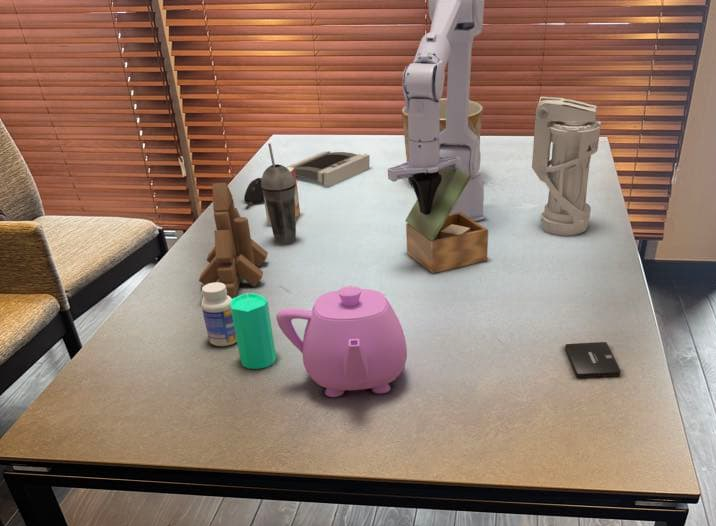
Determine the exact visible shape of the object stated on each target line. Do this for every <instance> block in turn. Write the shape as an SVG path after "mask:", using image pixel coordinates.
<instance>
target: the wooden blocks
mask: <svg viewBox="0 0 716 526" xmlns="http://www.w3.org/2000/svg"><path fill="white" fill-rule="evenodd" d="M212 206H213V207H212V209H213V217H214V222H215V228H216V230H214V247H213V248H212V249H211V251H209V254H208V255H207V257H206V262H207V263H209V264H207V266H206V267H205V269H204V270H203V271H202V272H201V274H200V275H199V278H198V282H200V283H202V284H203V286H205V285H206V284H209V283H214V282H218V281H219V283H223V284H225V286H226V290H227V295H228V296H230V297H231V298H232V299H233V298H235V297H237V295H238V291H239V288H240V284H241V280H242V279H243V280H244V281H245V282H247V283H248V284H249V285H251V286H252V287H256V286H257V285H258V284H259V283H260V281H261V280H262V279H263V275H264V271H263V270H261V268H260V267H261V266H262V264H263V263H264V262H265V261H266V259H267V258H268V251H267V250H266V249H264V247H262V246H261V245H260V244H258V243H257V242H256V241H254V240H253V239H252V237H251V232H250V231H251V229H250V225H249V219H248V218H247V217H246V216H241V215H240V212H239V211H238V209H237V207H235V202H234V199H233V194H232V192H231V190H230V188H229V185H228V183H227V182H218V183H217V182H214V183H212ZM203 299H204V297H202V300H201V302H202V301H203Z"/></svg>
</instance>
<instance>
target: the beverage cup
mask: <svg viewBox="0 0 716 526" xmlns="http://www.w3.org/2000/svg"><path fill="white" fill-rule="evenodd" d="M267 145H268V151H269V155H270V160H271V165H269V166H268V167H266V168H265V170H264V171H263V173H262V176H261V177H262V180H261V189H262V192H263V195H264V197H265V200H266V204H267V209H268V213H269V217H270V222H271V225H270V227H271V230H272V234H273V238H274V241H275V243H276V244H277V245H282V246H283V245H285V246H287V245H291V244H294V243H295V242H297V238H296V237H297V226H296V225H297V224H296V223H297V221H296V220H295V197H294V196H295V186H296V184H295V181H294V178H293V175H292V174H291V172H290V171H289V170H288V169H287V168H286V167H287V166H285V165H282V164H276V162H275V158H274V154H273V149H272V144H271V143H267Z"/></svg>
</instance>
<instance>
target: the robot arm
mask: <svg viewBox="0 0 716 526" xmlns="http://www.w3.org/2000/svg"><path fill="white" fill-rule="evenodd" d="M427 1H428V3H427V5H428V8H427V9H428V15H429V18H430V21H431V26H430V29H429V32H427V33H426V34H425V35H423V36H422V38H421V39H420V42H419V45H418V49H417V51H416V54H415V56H414V58H413V61H412V62H410V63H409V64H408V66H405V68H404V70H403V74H402V86H401V87H402V95H403V98H404V107H405V108H406V111H408V129H409V162H407V161H406V162H404V163H401V164H399V165H395V166H392V167H388V168H387V179H388V180H389V181H391V182H397V181H398V180H401V179H407V178H408V179H407V180H409V183H410V184H411V186H412V189H413V191H414V194H415V196H416V201H417V200H418V203H419V207H420V212H421V213H423V214H424V215H426V214H430V212H431V207H432V203H433V199H434V196H435V193H436V191H437V188H438V186H439V185H440V183H441V181H442V175H440V174H439V171H444V170H449V169H457V168H458V169H460V170H461V171H463V172H465V173H467V174H469V175H470V176H471V178H470V180H469V181H468V183H467V185H466V187H465V188H464V190H463V192H462V193H461V195H460V197H459V198H458V200H457V202H456V203H455V205H454V207H453V209H452V210H451V212H450V214H453V213H458V212H461V213H462V214H464V215H466V216H467V217H469V218H470V219H472V220H474V221H475V222H478V221H483V220H485V219H486V218H485V216H484V195H485V190H484V189H485V187H484V182H483V180H482V178H481V176H480V175H479V172H480V168H481V155H482V154H481V140H480V141H479V138H478V137H477V136H476V135H475V134H474V133H473V132H472V131H471V130H470V129H469V128H468V112H469V100H470V91H471V90H470V89H471V72H472V71H471V68H472V50H473V49H472V48H473V43H474V39H475V37H476V36H478V35H480V34H481V33H482V31H483V27H484V13H485V0H427ZM446 68H447V79H446V78H445V77H446V75H445V73H446V72H445V70H446ZM445 79H446V80H447V81H446V83H447V84H446V98H447V107H446V128H445V129H444V130H443V131H442V132H440V133H439V100H440V99H441V98H442V97H443V93H444V85H445ZM444 143H454V144H466V145H468V146H466V145H446V144H444Z"/></svg>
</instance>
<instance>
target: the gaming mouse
mask: <svg viewBox="0 0 716 526" xmlns="http://www.w3.org/2000/svg"><path fill="white" fill-rule="evenodd" d="M244 203H247V206H246V207H245V209H246V210H248V209H249V208H250V207H252V205H253V204H263V203H265V202H264V195H263V192H262V189H261V177H257V178H255V179H253V180H251V181H250V183H249V184H248V186H247V188H246V189H245V193H244Z"/></svg>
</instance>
